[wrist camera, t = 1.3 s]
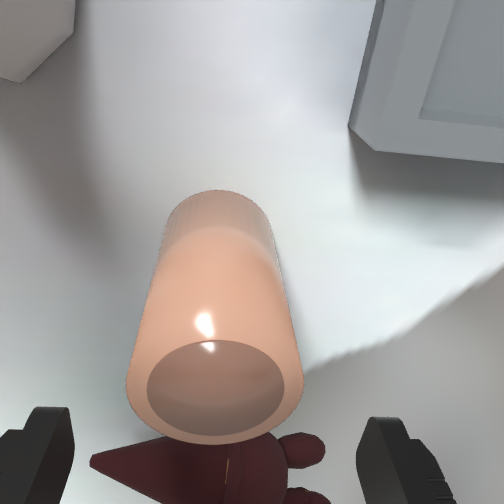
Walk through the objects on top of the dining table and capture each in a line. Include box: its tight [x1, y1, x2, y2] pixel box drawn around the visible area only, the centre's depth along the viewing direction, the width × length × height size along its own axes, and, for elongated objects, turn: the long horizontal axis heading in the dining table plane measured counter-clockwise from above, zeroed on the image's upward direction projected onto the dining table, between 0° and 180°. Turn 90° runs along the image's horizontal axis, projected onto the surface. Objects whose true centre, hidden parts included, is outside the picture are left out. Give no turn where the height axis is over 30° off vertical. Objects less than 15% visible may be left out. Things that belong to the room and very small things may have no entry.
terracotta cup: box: [126, 190, 304, 445], centre depth 16 cm, size 5×5×9 cm
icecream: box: [89, 432, 331, 504], centre depth 24 cm, size 7×7×15 cm
